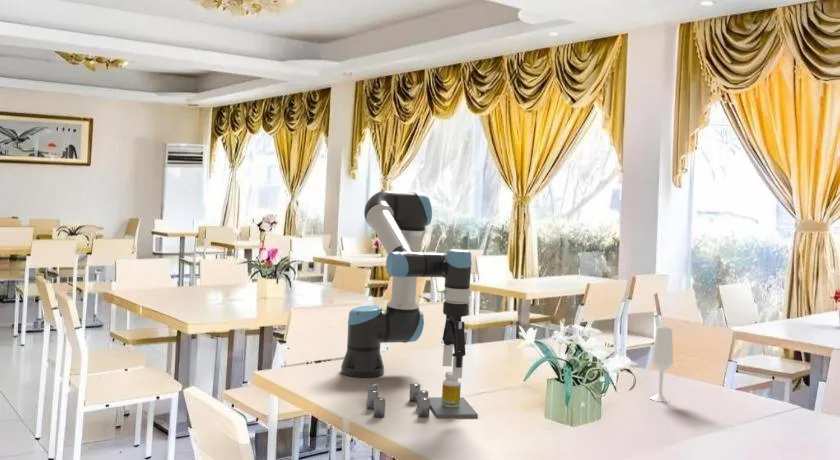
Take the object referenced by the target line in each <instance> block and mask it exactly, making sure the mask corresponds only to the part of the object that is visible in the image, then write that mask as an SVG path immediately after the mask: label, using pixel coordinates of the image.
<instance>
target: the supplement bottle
mask: <svg viewBox="0 0 840 460" xmlns="http://www.w3.org/2000/svg"><path fill="white" fill-rule="evenodd" d="M452 373H453V371H447V372H445V375H444V376H445V379H444V380H443V381H442V393H441V395H442V396H441V397H442V405H443V406H445V407H458V406H459V405H460V397H461V385H462V384H461V383H462V382H461V381H460V380H459V378H452Z"/></svg>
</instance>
